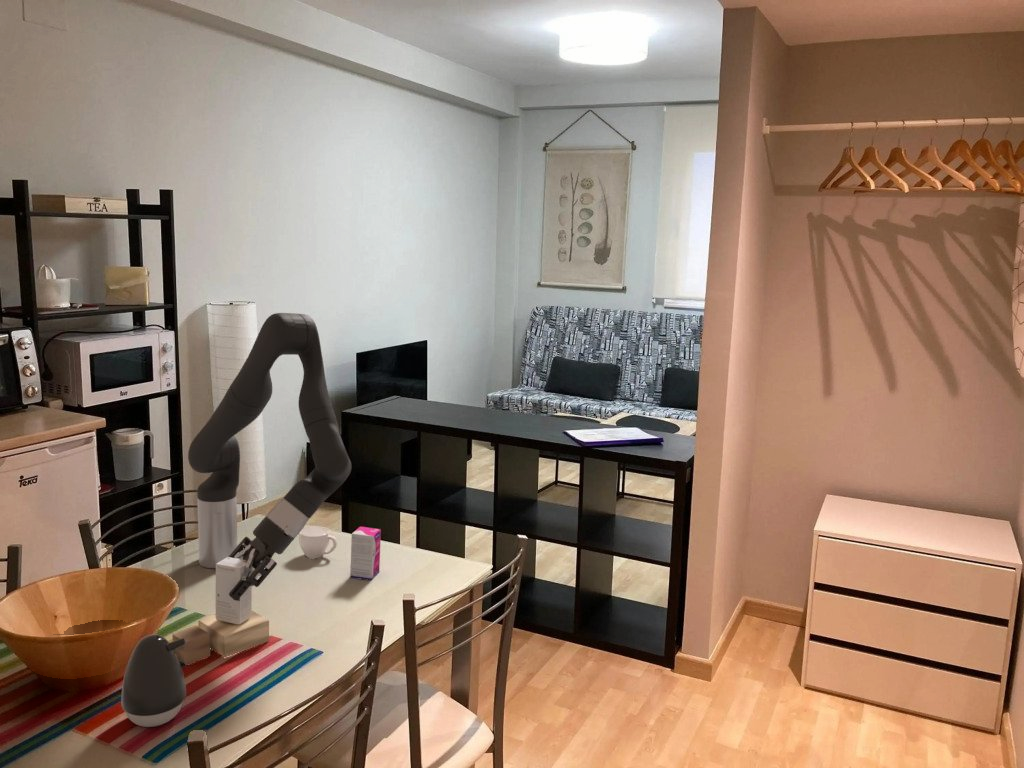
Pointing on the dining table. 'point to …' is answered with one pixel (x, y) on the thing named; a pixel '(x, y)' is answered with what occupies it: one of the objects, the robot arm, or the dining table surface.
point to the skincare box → (226, 580)
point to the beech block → (235, 633)
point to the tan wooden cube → (192, 644)
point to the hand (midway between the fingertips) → (226, 590)
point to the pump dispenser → (153, 682)
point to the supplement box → (365, 553)
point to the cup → (316, 541)
